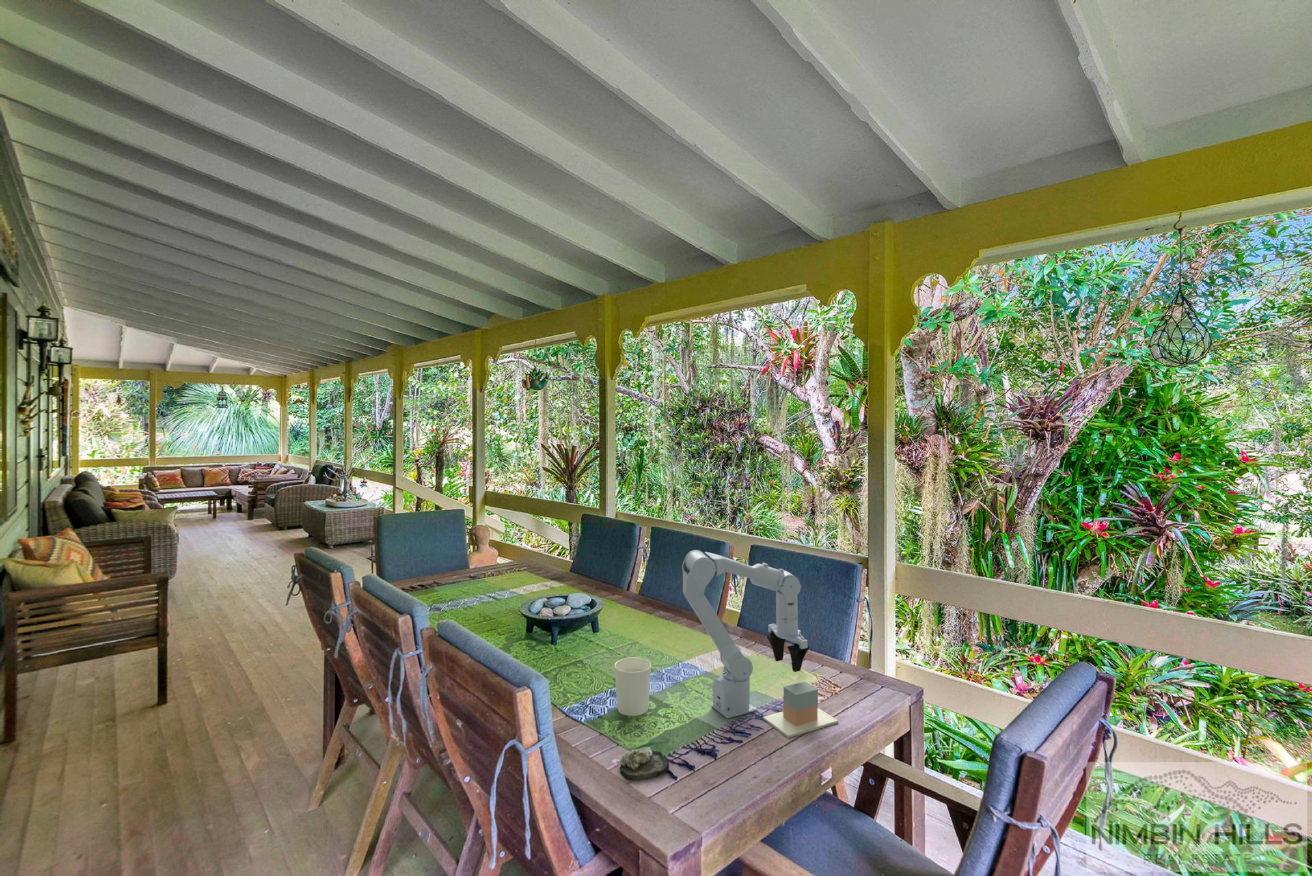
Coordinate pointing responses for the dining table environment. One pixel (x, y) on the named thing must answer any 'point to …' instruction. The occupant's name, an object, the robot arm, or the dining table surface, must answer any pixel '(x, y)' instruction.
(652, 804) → the dining table surface
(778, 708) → the dining table surface
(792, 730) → the baseboard
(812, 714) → the terracotta brick
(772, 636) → the robot arm
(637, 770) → the dark green oval dish
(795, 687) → the slate brick
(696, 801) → the dining table surface
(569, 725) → the dining table surface
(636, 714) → the candle holder
